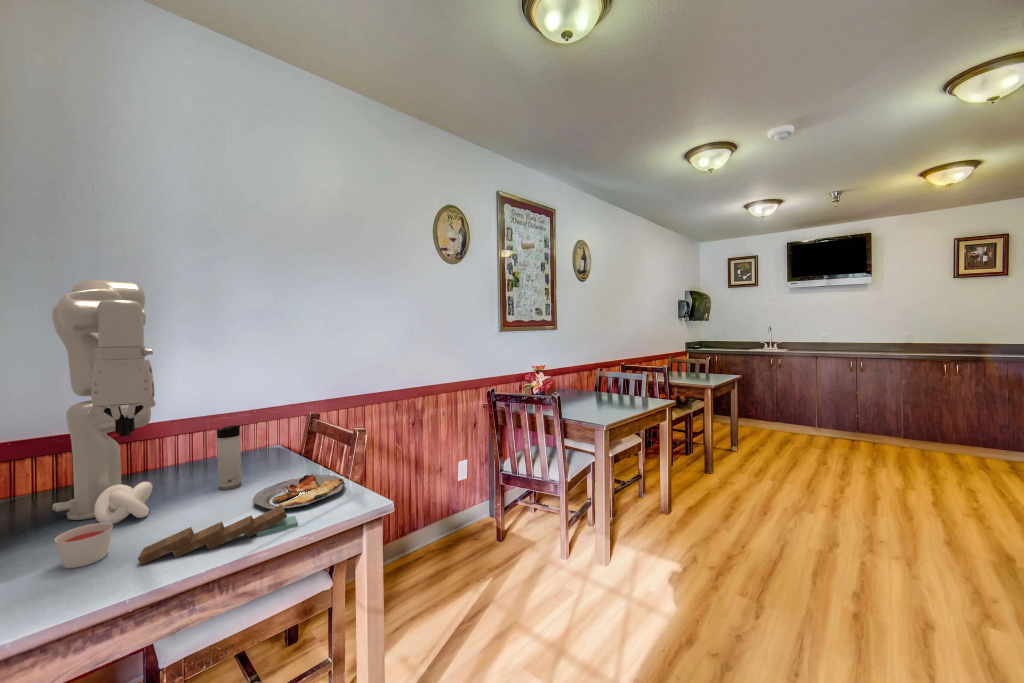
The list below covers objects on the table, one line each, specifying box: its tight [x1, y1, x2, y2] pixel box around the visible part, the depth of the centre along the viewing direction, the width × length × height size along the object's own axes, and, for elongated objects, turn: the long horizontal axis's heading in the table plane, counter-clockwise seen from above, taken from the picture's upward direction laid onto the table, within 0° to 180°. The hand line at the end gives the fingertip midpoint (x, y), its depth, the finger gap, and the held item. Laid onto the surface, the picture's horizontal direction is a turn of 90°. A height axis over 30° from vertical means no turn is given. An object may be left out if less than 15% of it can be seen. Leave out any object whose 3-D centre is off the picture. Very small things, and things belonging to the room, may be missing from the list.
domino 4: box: [245, 505, 288, 538], centre depth 105 cm, size 2×5×9 cm
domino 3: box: [205, 514, 254, 551], centre depth 100 cm, size 2×5×9 cm
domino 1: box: [137, 526, 195, 566], centre depth 94 cm, size 2×5×9 cm
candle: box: [54, 522, 114, 569], centre depth 92 cm, size 9×9×6 cm
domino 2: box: [171, 521, 226, 559], centre depth 97 cm, size 2×5×9 cm
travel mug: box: [216, 424, 243, 491], centre depth 135 cm, size 6×7×20 cm
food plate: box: [252, 473, 346, 510], centre depth 127 cm, size 25×23×4 cm
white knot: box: [94, 481, 154, 525], centre depth 113 cm, size 11×12×9 cm
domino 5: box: [255, 515, 299, 537], centre depth 107 cm, size 2×5×9 cm
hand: (125, 435), depth 94 cm, fingers closed
